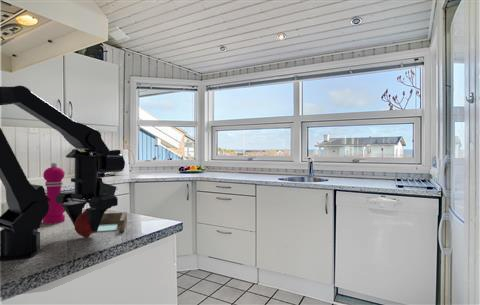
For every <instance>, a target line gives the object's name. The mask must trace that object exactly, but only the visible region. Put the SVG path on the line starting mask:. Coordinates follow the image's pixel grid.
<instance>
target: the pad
mask: <svg viewBox="0 0 480 305" xmlns="http://www.w3.org/2000/svg"><path fill="white" fill-rule="evenodd" d="M118 226H119V223H118V224H103V225H99V227H98V230H97V232H96V233H101V232H102V233H103V232H115V231H117V228H118Z"/></svg>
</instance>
